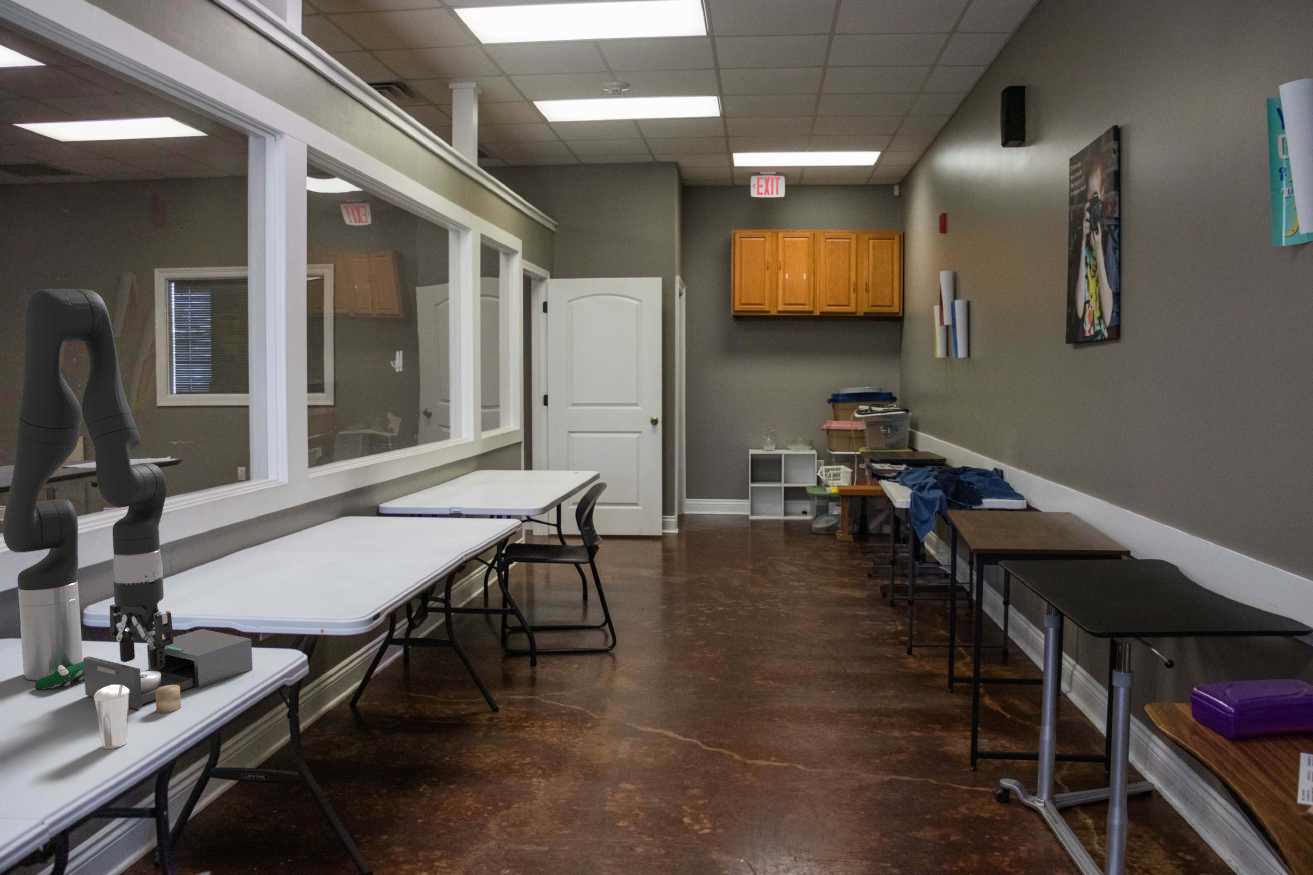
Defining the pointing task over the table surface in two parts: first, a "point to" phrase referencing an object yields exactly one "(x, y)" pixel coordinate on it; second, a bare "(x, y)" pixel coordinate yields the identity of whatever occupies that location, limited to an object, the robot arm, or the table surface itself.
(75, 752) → the table surface
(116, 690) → the milkshake
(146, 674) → the disc
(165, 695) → the tan short cylinder
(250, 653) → the gray drawer box
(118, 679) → the grey drawer
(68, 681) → the green toy
